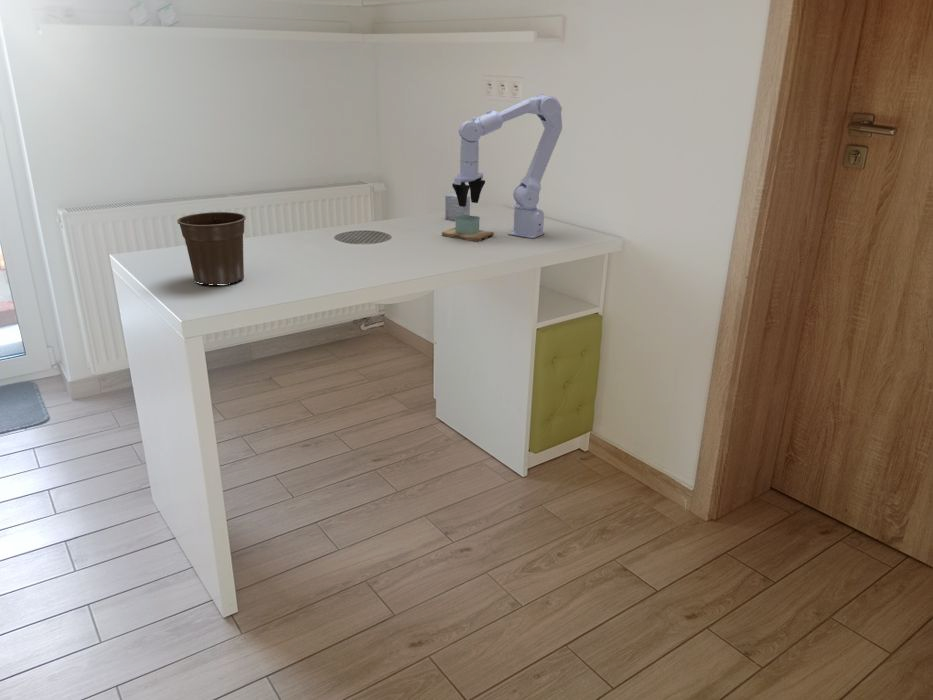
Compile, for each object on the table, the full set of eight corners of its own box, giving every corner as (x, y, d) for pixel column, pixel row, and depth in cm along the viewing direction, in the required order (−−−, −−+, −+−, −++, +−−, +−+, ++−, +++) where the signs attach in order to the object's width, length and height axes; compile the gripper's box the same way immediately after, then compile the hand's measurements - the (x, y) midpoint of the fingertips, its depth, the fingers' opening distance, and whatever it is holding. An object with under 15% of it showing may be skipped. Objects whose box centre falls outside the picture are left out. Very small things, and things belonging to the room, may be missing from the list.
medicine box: (470, 220, 255) (470, 195, 252) (463, 222, 252) (463, 197, 249) (451, 217, 259) (452, 193, 256) (444, 219, 256) (445, 195, 252)
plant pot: (177, 277, 185) (168, 215, 178) (237, 267, 194) (231, 208, 188) (198, 293, 173) (189, 227, 167) (261, 282, 182) (255, 219, 176)
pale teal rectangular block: (479, 232, 233) (479, 216, 231) (471, 234, 229) (471, 219, 227) (463, 229, 236) (463, 214, 234) (455, 232, 232) (455, 217, 230)
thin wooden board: (494, 235, 234) (494, 232, 233) (478, 241, 226) (478, 238, 225) (457, 230, 240) (458, 226, 240) (441, 235, 232) (441, 232, 232)
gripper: (470, 157, 231) (469, 199, 237) (446, 162, 220) (445, 206, 225) (489, 159, 228) (488, 202, 233) (465, 164, 217) (464, 209, 222)
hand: (468, 204), depth 229 cm, fingers open, 7 cm apart
